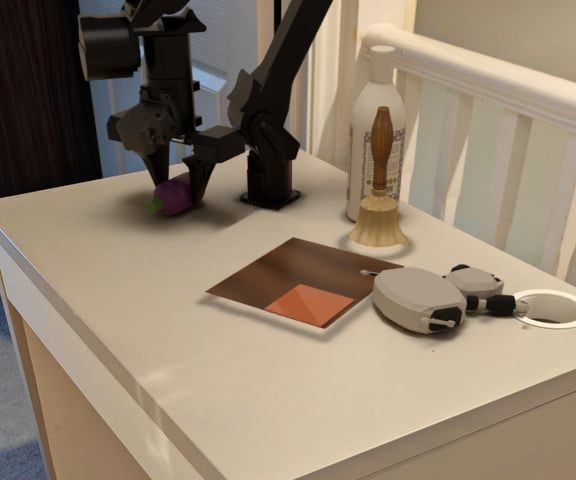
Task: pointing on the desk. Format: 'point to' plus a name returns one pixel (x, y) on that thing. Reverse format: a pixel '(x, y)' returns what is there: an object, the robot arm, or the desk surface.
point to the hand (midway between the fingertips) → (180, 201)
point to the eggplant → (172, 196)
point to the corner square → (310, 305)
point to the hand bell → (379, 193)
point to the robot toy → (439, 297)
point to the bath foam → (362, 119)
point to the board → (302, 275)
